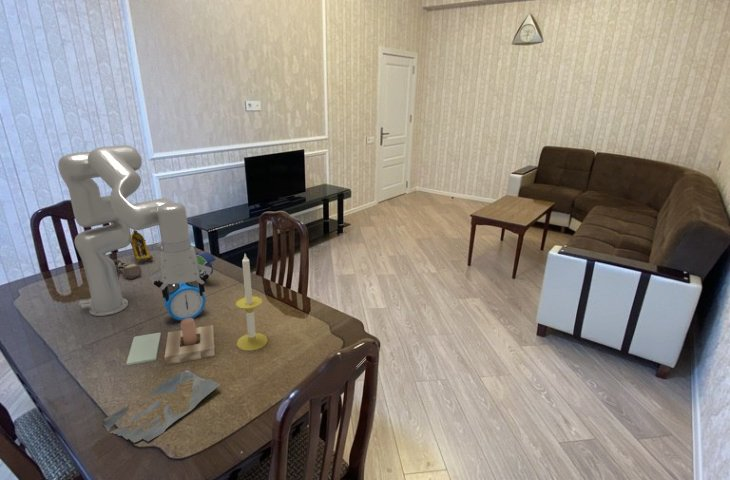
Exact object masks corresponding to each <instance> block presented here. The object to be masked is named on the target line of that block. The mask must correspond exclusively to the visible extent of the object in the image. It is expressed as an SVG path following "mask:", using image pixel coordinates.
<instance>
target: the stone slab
mask: <svg viewBox="0 0 730 480" xmlns="http://www.w3.org/2000/svg"><path fill="white" fill-rule="evenodd" d="M191 380H193V383H192V386H191V389H192V392H191V396H190V399H189V401H188V402H189V403H188V404H189V407H188V409H187V410H185V411H184V412H181V413H172V412H171V406H170V405H171V402H169V403H168V404H166V406H165V407H163V415H164V422H163V421H161V419H162V416H161V415H159V416H158V417H156V418H154V419H152V420H151V421H149V423H148V424H146V425H143V426H138V427H136V428H134V429H128V428H123V427H124V426H125V424H123V425H121V426H120V427H118V428H115V429H114V430H112V431H110V430H111V428H112V427H113V426H114V425H115V424H117V423H118V422H120V421H123V418H124V416H125V415H126V413H127V412H128V411H129V410H130V408H129V407H130V405H128V406H126V407H124V408H122V409H119V410H118V411H116V412H114V413H112V414H110V415H109V416H107V417H106V418H104V419H103V423H102V426H103V427H104V428H105V429H106V430H107V432H109V433H110V434H114V435H117V436H118V437H123V438H124V439H125V440H130V441H131V442H132V443H138V442H140V441H141V440H144V441H146V442H150V441H152V440H153V439H155V438H157V437H158V436H161V435H163V433H165V431H166V429H168V428H169V427H170V426H171V425H173V424H174V423H175V422H176V421H178V420H179V419H181V418H182V417H184V416H185V415H187V414H188V413H189V412H192V410H193V409H195V408H196V407H197V405H198V404H199V403H200V402H201V401H202V400H204V399H205V398H206V397H207V396H208V395H209V394H211V393H212V392H213V391H215V390H216V389H217V388H218V387H220V385H221V384H220V383H218V382H216V381H215V380H213V379H210V378H204V377H203V378H202V377H199V376H198V375H195V374H194V373H193V372H192V371H189V370H187V369H186V370H184V371H182V372H181V373H177V374H175V375H173V376H172V377H170V378H168V379H166V380H164V381H163V382H161V383H160V384H159V385H157V386H156V387H155V388H153V389H152V391H150V392H149V393H148V395H151V396H152V395H153V396H154V395H158V394H159V395H160V394H174V393H175V392H177V390H178V387H179V385H181V384H182V383H184V382H188V381H191ZM147 402H149V399H146V400H145V401H144V403H147ZM161 403H162V398H159V399H158V400H156V401H155V402H153V403H151V404H150V405H149V406H147V408H146V409H145V410H143V412H141V413H140V414H134V415H132V416H131V418H130V419H129V420H128V421H127V422H126V424H129V423H131V422H133V421H136V420H139V418H141V417H144V416H145V415H148V414H151V413H154V411H155V410H157V409H158V408H159V407H160V404H161ZM132 405H134V403H132ZM151 425H154V426H153V427H150V426H151ZM147 427H150V428H147ZM145 428H147V429H146V430H144V431H143V429H145Z"/></svg>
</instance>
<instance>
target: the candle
mask: <svg viewBox="0 0 730 480" xmlns="http://www.w3.org/2000/svg"><path fill="white" fill-rule="evenodd" d="M241 261H242V273H243V274H242V276H243V285H244V286H243V287H244V296H242V297H240V298H238V299H236V301H235V306H236V308H238V309H241V310H245V314H246V315H245V316H246V317H245V318H246V328H247V329H246V330H247V334H244V335H242V336H241V337H240V338H238V340H237V341H236V346H237V348H239V349H240V350H242V351H246V352H254V351H257V350H260V349H262V348H263V347H265V346H266V345H267V344H268V341H269V340H268V337H267V336H266V335H265V334H264V333H260V332H256V322H255V308H258V307H260V306H261V305H262V303H263V302H264V301H263V298H262V297H260V296H257V295H253V292H252V278H251V277H252V276H251V266H250V264H251V263H250V259H249V258H248V257H247V254H246V253H244V256H243V259H242V260H241Z"/></svg>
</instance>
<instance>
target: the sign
mask: <svg viewBox="0 0 730 480" xmlns="http://www.w3.org/2000/svg"><path fill="white" fill-rule="evenodd" d="M195 253H196V257H197V261H198V264H200V265H204V266H207V267H210V268H211V269H212V271H211V273H210V275H209V276H211V275H213V273H214V268H213V263H214V262H215V261H216V258H215V256H214V255H213V254H212V253H210V252H207V251H203V252H198V251H195ZM205 273H206V271H203V270H199V275H201V276H202V277H203V276H204V274H205Z"/></svg>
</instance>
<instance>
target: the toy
mask: <svg viewBox="0 0 730 480" xmlns="http://www.w3.org/2000/svg"><path fill="white" fill-rule="evenodd" d="M114 263H115V265H117V269H118V272H121V273H123V276H124V277H125V278H127V279H129V280H130V279H136V278H139V277H141V275H142V272H143V271H142V267H141V266H140V264H134V263H132V264H126V263H125V262H122V261H121V260H116V261H114Z"/></svg>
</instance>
